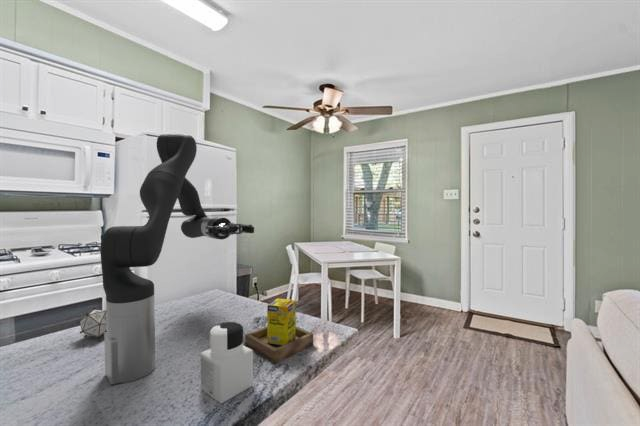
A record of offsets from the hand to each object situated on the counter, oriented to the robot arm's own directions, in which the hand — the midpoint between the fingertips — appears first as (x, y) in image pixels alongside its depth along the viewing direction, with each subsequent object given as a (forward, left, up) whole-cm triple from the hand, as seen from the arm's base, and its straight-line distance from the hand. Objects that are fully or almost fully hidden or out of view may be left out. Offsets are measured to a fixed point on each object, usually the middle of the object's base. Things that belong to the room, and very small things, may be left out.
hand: (241, 230), depth 91 cm
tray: (0, -19, -30) cm, 35 cm away
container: (-19, -25, -30) cm, 44 cm away
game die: (-33, +24, -30) cm, 51 cm away
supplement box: (0, -20, -29) cm, 35 cm away
